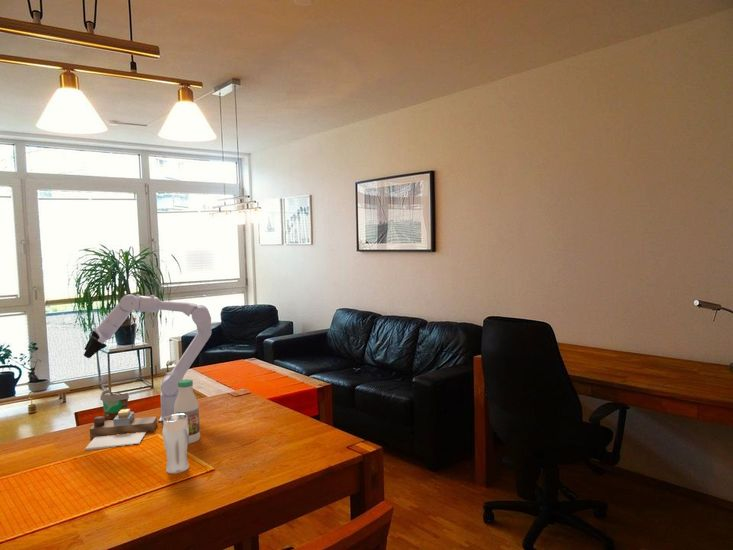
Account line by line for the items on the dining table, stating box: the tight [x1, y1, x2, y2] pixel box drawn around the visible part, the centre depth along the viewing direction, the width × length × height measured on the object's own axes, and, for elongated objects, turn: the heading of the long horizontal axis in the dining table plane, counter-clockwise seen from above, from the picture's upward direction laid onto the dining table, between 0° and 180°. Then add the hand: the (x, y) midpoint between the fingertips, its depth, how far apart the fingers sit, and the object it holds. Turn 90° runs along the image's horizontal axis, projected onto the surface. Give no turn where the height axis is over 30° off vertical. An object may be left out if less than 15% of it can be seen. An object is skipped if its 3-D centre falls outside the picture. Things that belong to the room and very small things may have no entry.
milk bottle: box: [174, 378, 201, 445], centre depth 160 cm, size 8×8×20 cm
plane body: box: [89, 415, 158, 438], centre depth 170 cm, size 20×7×6 cm, turn 103°
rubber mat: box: [84, 432, 147, 451], centre depth 161 cm, size 16×10×1 cm, turn 103°
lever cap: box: [113, 408, 135, 427], centre depth 170 cm, size 5×7×4 cm
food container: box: [99, 389, 130, 421], centre depth 183 cm, size 12×6×10 cm, turn 62°
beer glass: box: [162, 414, 190, 475], centre depth 138 cm, size 7×7×15 cm
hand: (86, 353), depth 173 cm, fingers open, 7 cm apart
